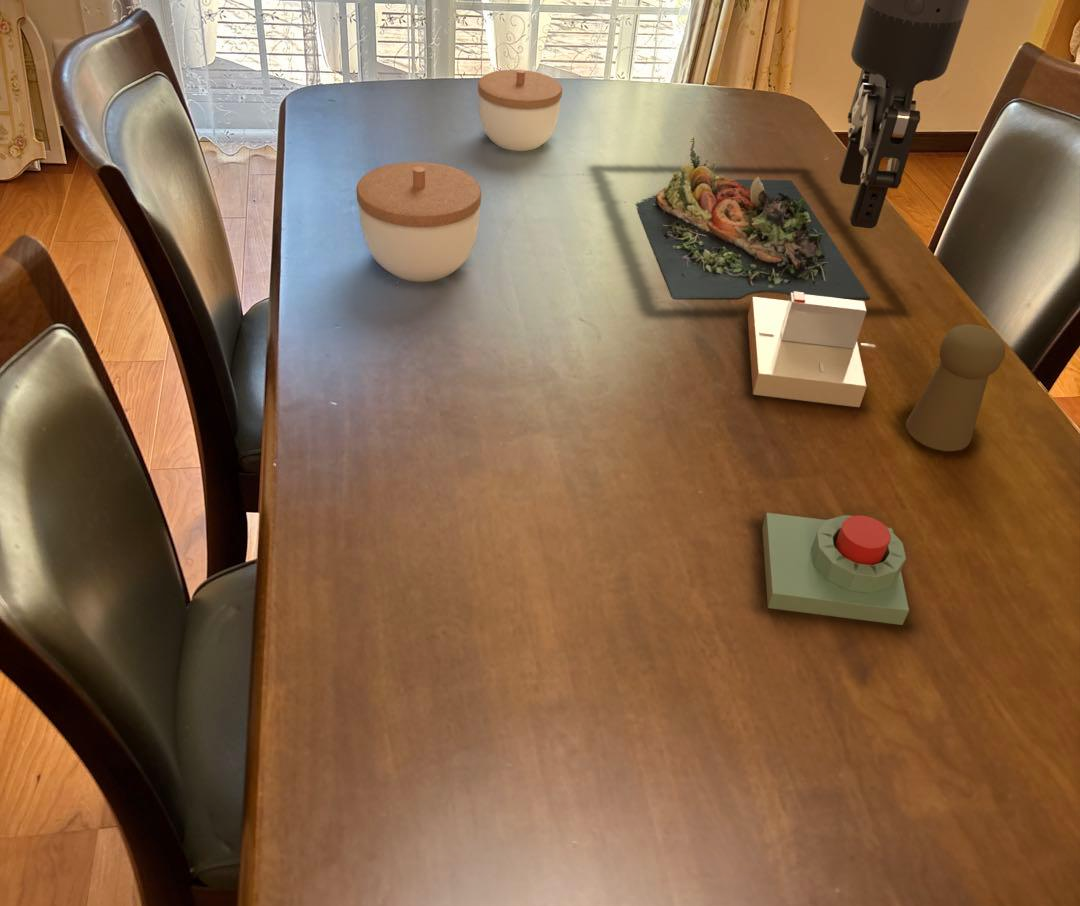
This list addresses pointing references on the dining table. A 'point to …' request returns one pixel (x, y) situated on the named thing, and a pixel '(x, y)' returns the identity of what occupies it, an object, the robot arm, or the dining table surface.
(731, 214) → the plated dish
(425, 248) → the lidded bowl
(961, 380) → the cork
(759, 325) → the switch base
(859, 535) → the button
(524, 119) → the trinket box
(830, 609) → the button box
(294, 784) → the dining table surface
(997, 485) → the dining table surface
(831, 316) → the white switch lever
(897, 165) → the robot arm
